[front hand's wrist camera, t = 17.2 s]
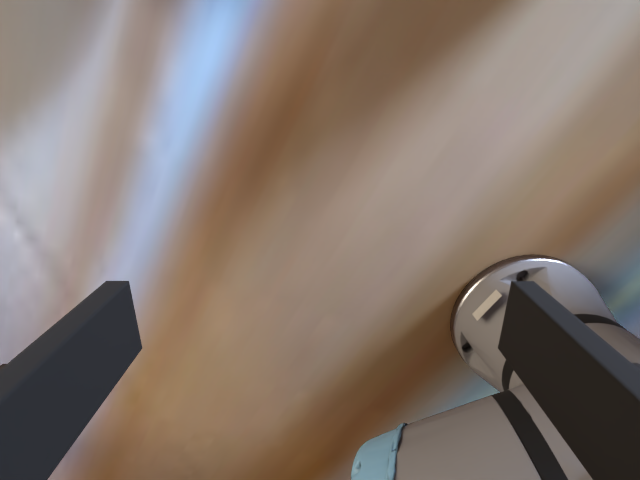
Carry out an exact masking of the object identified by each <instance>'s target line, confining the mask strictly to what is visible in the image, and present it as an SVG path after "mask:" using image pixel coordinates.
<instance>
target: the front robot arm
mask: <svg viewBox="0 0 640 480" xmlns="http://www.w3.org/2000/svg"><path fill="white" fill-rule="evenodd" d="M450 328H451V336H452V339H453V342H454V344H455V347H456V348H457V350H458V352H459V354H460V355H461V357H462V359H463V360H464V361H465V362H466V364H467V365H468V366H469V367H470V368H471V369H472V370H473V371H474V372H475V373H476V374H478V375H479V376H480V377H482V378H483V379H484V380H485V381H487V382H488V383H489V384H491V385H492V386H493V387H495V388H496V389H497V390H498V391H500V393H497V394H494V395H491V396H488V397H485V398H482V399H479V400H476V401H474V402H471V403H468V404H465V405H462V406H459V407H456V408H453V409H451V410H448V411H445V412H442V413H439V414H436V415H433V416H430V417H428V418H425V419H422V420H419V421H416V422H413V423H410V424H407V423H402V424H400V425H399V426H398V427H397V428H396V429H394V430H391V431H389V432H387V433H384V434H382V435H379V436H377V437H375V438H372V439H370V440H368V441H367V442H365V443H364V444H363V445H362V446H361V447H360V449H359V450H358V452H357V454H356V456H355V459H354V462H353V466H352V472H351V480H640V339H638V338H637V337H636V336H634V335H633V334H632V333H630V332H629V331H627V330H626V329H625V328H623V327H622V326H621V325H619V324H618V323H617V322H616V320H615V318H614V317H613V315H612V314H611V312H610V310H609V309H608V307H607V306H606V304H605V302H604V301H603V299H602V297H601V296H600V294H599V293H598V291H597V289H596V288H595V286H594V285H593V284H592V283H591V282H590V281H589V280H588V279H587V278H586V277H585V276H584V275H583V274H582V273H581V272H580V271H578V270H577V269H575V268H574V267H572V266H571V265H569V264H567V263H566V262H564V261H562V260H559V259H556V258H553V257H549V256H544V255H523V256H517V257H512V258H509V259H506V260H503V261H500V262H498V263H496V264H494V265H492V266H490V267H488V268H487V269H485V270H483V271H482V272H481V273H479V274H478V275H477V276H476V277H474V278H473V279H472V280H471V281H470V282H469V283H468V284H467V285H466V287H465V288H464V289H463V291H462V292H461V294H460V295H459V297H458V299H457V301H456V303H455V305H454V308H453V311H452V315H451V322H450ZM141 349H142V345H141V340H140V335H139V330H138V325H137V320H136V315H135V310H134V305H133V300H132V295H131V290H130V285H129V281H106V282H105V283H103V284H102V285H101V286H100V287H99V288H98V289H96V290H95V291H94V292H93V293H92V294H90V295H89V296H88V297H87V298H86V299H84V300H83V301H82V302H81V303H80V304H78V305H77V306H76V307H75V308H74V309H72V310H71V311H70V312H69V313H68V314H66V315H65V316H64V317H63V318H62V319H60V320H59V321H58V322H57V323H56V324H55V325H53V326H52V327H51V328H50V329H49V330H47V331H46V332H45V333H44V334H43V335H41V336H40V337H39V338H38V339H37V340H35V341H34V342H33V343H32V344H31V345H29V346H28V347H27V348H26V349H25V350H23V351H22V352H21V353H20V354H19V355H17V356H16V357H15V358H14V359H13V360H12V361H10V362H9V363H8V364H2V365H1V366H0V480H47V479H48V478H49V476H50V475H51V474H52V472H53V471H54V469H55V468H56V467H57V465H58V464H59V463H60V461H61V460H62V458H63V457H64V456H65V454H66V453H67V451H68V450H69V449H70V447H71V446H72V445H73V443H74V442H75V440H76V439H77V438H78V436H79V435H80V434H81V432H82V431H83V429H84V428H85V427H86V425H87V424H88V422H89V421H90V420H91V418H92V417H93V416H94V414H95V413H96V411H97V410H98V409H99V407H100V406H101V404H102V403H103V402H104V400H105V399H106V398H107V396H108V395H109V393H110V392H111V391H112V389H113V388H114V386H115V385H116V384H117V382H118V381H119V380H120V378H121V377H122V375H123V374H124V373H125V371H126V370H127V369H128V367H129V366H130V364H131V363H132V362H133V360H134V359H135V357H136V356H137V355H138V353H139V352H140V351H141Z"/></svg>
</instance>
